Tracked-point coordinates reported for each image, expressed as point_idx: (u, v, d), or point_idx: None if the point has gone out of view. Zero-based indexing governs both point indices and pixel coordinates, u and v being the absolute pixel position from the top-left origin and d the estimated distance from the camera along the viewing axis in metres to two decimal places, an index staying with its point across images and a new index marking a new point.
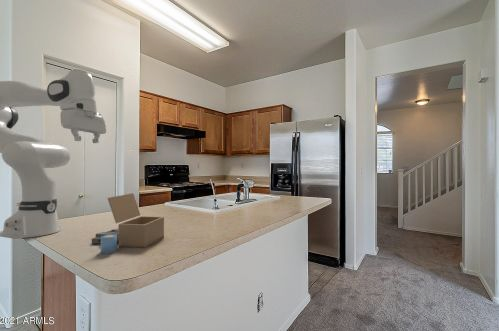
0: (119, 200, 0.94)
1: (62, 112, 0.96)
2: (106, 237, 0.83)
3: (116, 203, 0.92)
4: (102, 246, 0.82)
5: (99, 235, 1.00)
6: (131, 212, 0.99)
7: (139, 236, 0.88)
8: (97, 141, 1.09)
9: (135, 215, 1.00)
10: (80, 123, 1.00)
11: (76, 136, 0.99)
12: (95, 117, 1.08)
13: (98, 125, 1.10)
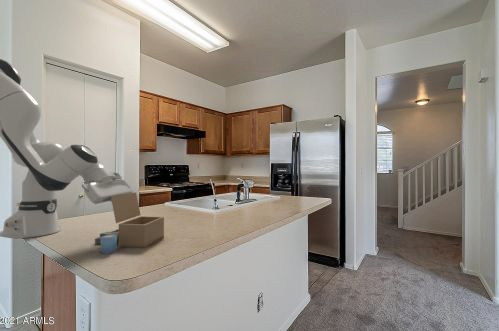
0: (122, 199, 0.94)
1: None
2: (106, 237, 0.83)
3: (118, 202, 0.92)
4: (102, 246, 0.82)
5: (103, 235, 1.01)
6: (132, 212, 0.99)
7: (139, 236, 0.88)
8: None
9: (135, 215, 1.00)
10: None
11: None
12: None
13: None
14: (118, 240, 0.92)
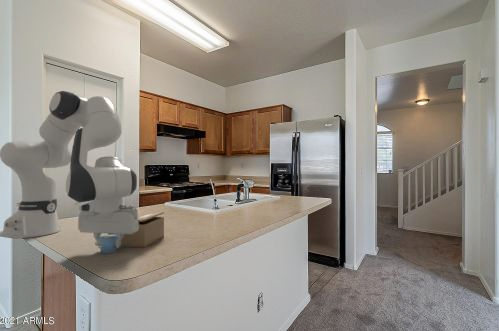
0: None
1: None
2: (106, 237, 0.83)
3: None
4: (102, 246, 0.82)
5: (109, 234, 1.02)
6: (140, 217, 0.98)
7: (139, 236, 0.88)
8: (115, 245, 0.83)
9: None
10: (92, 226, 0.83)
11: None
12: (115, 215, 0.82)
13: (119, 225, 0.82)
14: None
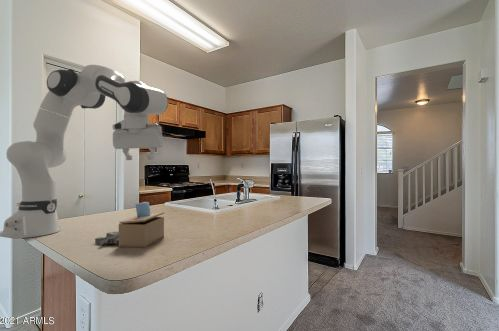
0: None
1: None
2: (140, 203, 0.95)
3: None
4: (138, 211, 0.94)
5: (108, 235, 1.01)
6: None
7: (139, 236, 0.88)
8: (149, 158, 0.98)
9: None
10: (124, 143, 0.98)
11: None
12: (143, 131, 0.96)
13: (147, 139, 0.96)
14: (114, 241, 0.91)
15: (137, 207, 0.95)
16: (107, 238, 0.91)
